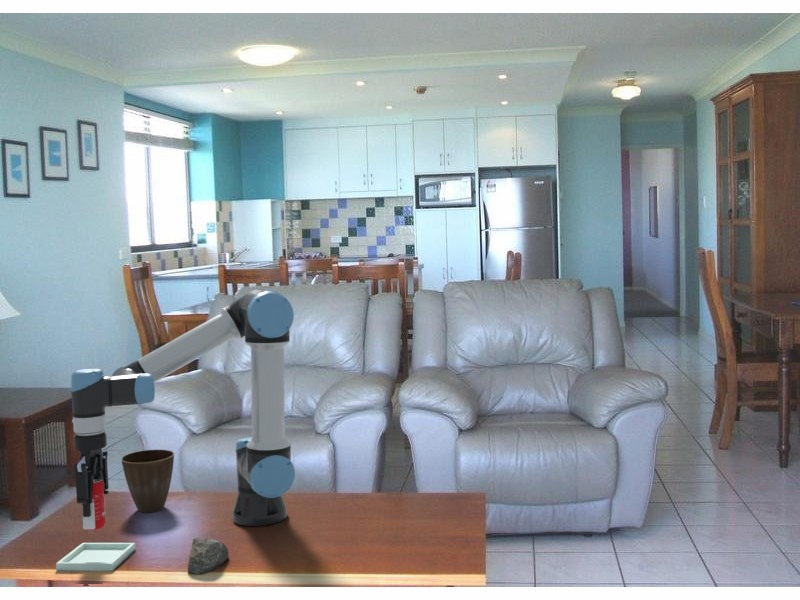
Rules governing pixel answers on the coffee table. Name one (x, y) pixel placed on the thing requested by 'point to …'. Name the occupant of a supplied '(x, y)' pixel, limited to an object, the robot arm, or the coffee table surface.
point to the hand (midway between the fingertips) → (94, 524)
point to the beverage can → (98, 503)
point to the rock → (206, 555)
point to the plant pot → (149, 478)
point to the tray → (96, 557)
